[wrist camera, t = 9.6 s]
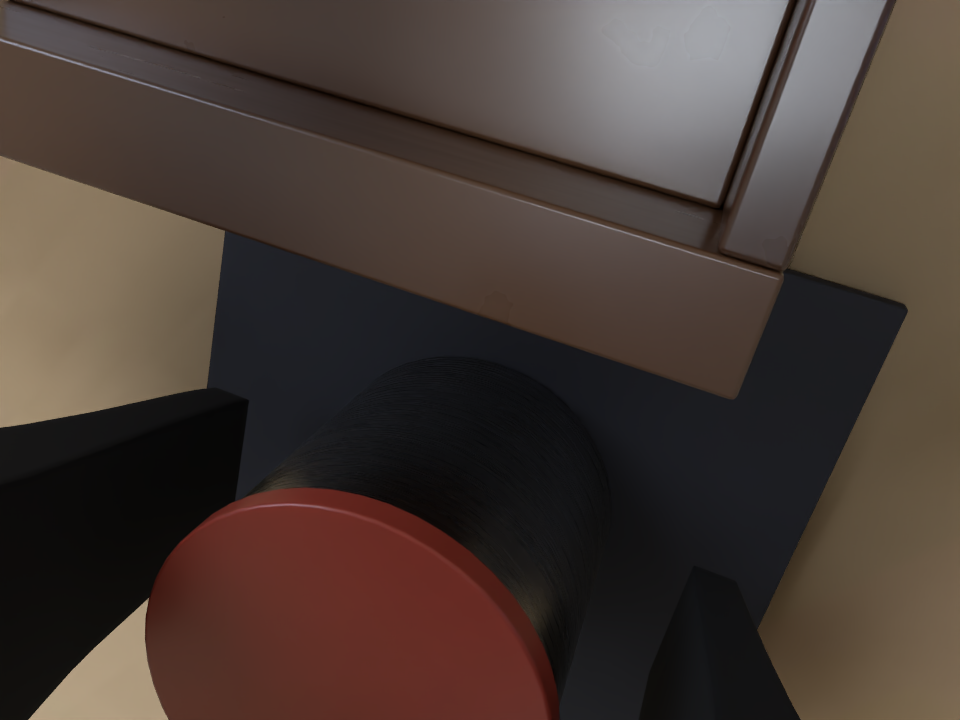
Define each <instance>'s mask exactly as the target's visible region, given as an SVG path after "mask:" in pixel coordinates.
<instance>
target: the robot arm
mask: <svg viewBox="0 0 960 720" xmlns="http://www.w3.org/2000/svg"><path fill="white" fill-rule="evenodd" d="M248 405H249V400H248V399H246V398H243V397H240V396H238V395H235V394H232V393H230V392H227V391H224V390H222V389H219V388H216V387H214V388H206V389H199V390H193V391H188V392H183V393H178V394H173V395H168V396H164V397H159V398H155V399H150V400H146V401H141V402H136V403H132V404H127V405H123V406H118V407H114V408H109V409H104V410H100V411H95V412H90V413H85V414H79V415H74V416H68V417H63V418H57V419H52V420H46V421H41V422H36V423H30V424H24V425H17V426H11V427H3V428H0V720H28V719H29V718H30V717H31V716H32V715H33V714H34V712H35V711H36V710H37V709H38V708H39V707H40V706H41V705H42V703H43V702H44V701H45V700H46V699H47V698H48V697H49V695H50V694H51V693H52V692H53V691H54V690H55V689H56V688H57V686H58V685H59V684H60V683H61V682H62V681H63V680H64V679H65V677H66V676H67V675H68V674H69V673H70V672H71V671H72V670H73V669H74V668H75V667H76V666H77V665H78V664H79V663H80V662H81V661H82V660H83V659H84V658H85V657H86V656H87V655H88V654H89V653H90V652H91V651H92V650H93V649H94V648H95V647H96V646H97V645H98V644H99V643H100V642H101V641H102V640H103V639H104V638H105V637H107V636H108V635H109V634H110V633H111V632H112V631H113V630H114V629H115V628H116V627H117V626H119V625H120V624H121V623H122V622H123V621H124V620H125V619H126V618H127V617H128V616H129V615H131V614H132V613H133V612H134V611H135V610H136V609H137V608H138V607H139V606H140V605H141V604H143V603H144V602H145V601H146V600H147V599H148V598H149V597H150V594H151V591H152V588H153V585H154V582H155V580H156V577H157V575H158V573H159V571H160V569H161V567H162V566H163V564H164V562H165V560H166V559H167V557H168V556H169V555H170V553H171V552H172V551H173V550H174V549H175V547H176V546H177V545H178V544H179V543H180V541H181V540H183V539H184V538H185V537H186V536H187V535H188V534H189V533H191V532H192V531H193V530H194V529H195V528H196V527H197V526H199V525H200V524H201V523H202V522H203V521H205V520H206V519H207V518H208V517H209V516H211V515H212V514H213V513H215V512H217V511H218V510H220V509H222V508H223V507H225V506H227V505H229V504H230V503H232V502H235V498H236V491H237V484H238V477H239V470H240V463H241V455H242V448H243V441H244V434H245V427H246V420H247V413H248ZM639 720H801V719H800V718H799V716H798V714H797V712H796V711H795V709H794V707H793V705H792V703H791V701H790V699H789V697H788V695H787V693H786V691H785V689H784V687H783V685H782V683H781V681H780V679H779V677H778V675H777V673H776V671H775V669H774V667H773V665H772V662H771V660H770V658H769V656H768V654H767V652H766V649H765V647H764V645H763V643H762V640H761V638H760V636H759V633H758V631H757V629H756V626H755V624H754V622H753V619H752V617H751V615H750V612H749V610H748V607H747V605H746V603H745V600H744V598H743V595H742V593H741V591H740V589H739V587H738V584H737V582H736V581H735V580H732V579H729V578H727V577H724V576H721V575H719V574H716V573H713V572H711V571H708V570H705V569H702V568H700V567H697V566H693V568H692V571H691V573H690V576H689V578H688V580H687V583H686V585H685V588H684V590H683V592H682V595H681V597H680V600H679V602H678V604H677V607H676V609H675V611H674V614H673V616H672V619H671V621H670V623H669V626H668V628H667V631H666V633H665V635H664V638H663V640H662V643H661V645H660V647H659V650H658V652H657V655H656V657H655V659H654V662H653V664H652V666H651V669H650V671H649V675H648V680H647V684H646V689H645V693H644V698H643V702H642V706H641V711H640V716H639Z"/></svg>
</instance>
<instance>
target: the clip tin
mask: <svg viewBox="0 0 960 720" xmlns="http://www.w3.org/2000/svg"><path fill="white" fill-rule="evenodd" d="M610 521H611V492H610V487H609V481H608V476H607V473H606V470H605V467H604V464H603V461H602V458H601V456H600V454H599V452H598V450H597V448H596V446H595V443H594V441H593V440H592V438H591V437H590V435H589V434H588V432H587V431H586V429H585V427H584V426H583V424H582V423H581V422H580V421H579V420H578V418H577V417H576V416H575V415H574V414H573V412H572V411H571V410H570V409H569V408H568V407H567V406H566V405H565V404H564V403H563V402H562V401H561V400H560V399H558V398H557V397H556V396H555V395H554V394H553V393H551V392H550V391H549V390H547V389H546V388H545V387H543V386H542V385H540V384H539V383H538V382H536V381H534V380H532V379H531V378H529V377H527V376H525V375H523V374H522V373H520V372H517V371H515V370H513V369H510V368H508V367H505V366H503V365H500V364H496V363H493V362H489V361H486V360H482V359H476V358H469V357H462V356H440V357H431V358H424V359H420V360H416V361H412V362H408V363H405V364H403V365H401V366H398V367H396V368H394V369H391V370H389V371H388V372H386V373H385V374H383V375H381V376H380V377H378V378H376V379H375V380H374V381H373V382H372V383H370V384H369V385H368V386H367V387H366V388H364V389H363V390H362V391H361V392H360V393H359V394H358V395H357V396H356V397H354V398H353V399H352V400H351V401H350V402H349V403H348V404H347V405H345V406H344V407H343V408H342V409H341V410H340V411H339V412H338V413H337V414H335V415H334V416H333V417H332V418H331V419H330V420H329V421H328V422H327V423H325V424H324V425H323V426H322V427H321V428H320V429H319V430H318V431H316V432H315V433H314V434H313V435H312V436H311V437H310V438H309V439H308V440H306V441H305V442H304V443H303V444H302V445H301V446H300V447H299V448H298V449H296V450H295V451H294V452H293V453H292V454H291V455H290V456H289V457H287V458H286V459H285V460H284V461H283V462H282V463H281V464H280V465H279V466H277V467H276V468H275V469H274V470H273V471H272V472H271V473H270V474H268V475H267V476H266V477H265V478H264V479H263V480H262V481H261V482H260V483H258V484H257V485H256V486H255V487H254V488H253V489H252V490H251V491H250V492H248V493H247V494H246V495H245V496H244V497H243V498H242V499H240V500H238V501H235V502H232V503H230V504H229V505H227V506H225V507H223V508H222V509H220V510H218V511H217V512H215V513H213V514H212V515H211V516H209V517H208V518H207V519H206V520H205V521H203V522H202V523H201V524H200V525H199V526H197V527H196V528H195V529H194V530H193V531H192V532H191V533H189V534H188V535H187V536H186V537H185V538H184V539H183V540H181V541H180V543H179V544H178V545H177V546H176V547H175V549H174V550H173V551H172V552H171V553H170V555H169V556H168V557H167V559H166V560H165V562H164V564H163V566H162V567H161V569H160V571H159V573H158V575H157V577H156V580H155V582H154V585H153V588H152V591H151V594H150V597H149V602H148V607H147V613H146V622H145V643H146V651H147V660H148V665H149V669H150V673H151V677H152V681H153V684H154V687H155V690H156V692H157V695H158V698H159V700H160V703H161V706H162V708H163V710H164V712H165V714H166V715H167V717H168V719H169V720H560V714H559V706H560V703H561V699H562V696H563V692H564V689H565V685H566V682H567V678H568V674H569V671H570V667H571V664H572V660H573V657H574V653H575V650H576V646H577V643H578V639H579V636H580V632H581V629H582V625H583V622H584V618H585V615H586V611H587V608H588V604H589V601H590V597H591V593H592V590H593V586H594V583H595V579H596V576H597V572H598V569H599V565H600V562H601V558H602V555H603V551H604V548H605V544H606V541H607V537H608V533H609V530H610Z"/></svg>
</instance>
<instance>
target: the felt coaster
mask: <svg viewBox="0 0 960 720" xmlns="http://www.w3.org/2000/svg"><path fill="white" fill-rule="evenodd" d="M783 274H784V281H783V284H782V286H781V289H780V291H779V294H778V296H777V299H776V301H775V304H774V306H773V309H772V311H771V314H770V316H769V319H768V321H767V324H766V326H765V329H764V331H763V334H762V336H761V338H760V341H759V343H758V346H757V348H756V351H755V353H754V356H753V358H752V361H751V363H750V366H749V368H748V371H747V373H746V376H745V378H744V381H743V383H742V386H741V388H740V391H739V393H738V395H737V397H736V398H735V399H727V398H724V397H721V396H718V395H715V394H712V393H709V392H706V391H703V390H700V389H697V388H694V387H691V386H688V385H685V384H682V383H679V382H676V381H673V380H670V379H667V378H664V377H661V376H658V375H655V374H652V373H649V372H646V371H643V370H640V369H637V368H634V367H631V366H628V365H625V364H622V363H619V362H616V361H613V360H610V359H607V358H604V357H601V356H598V355H595V354H592V353H589V352H586V351H583V350H580V349H577V348H574V347H571V346H568V345H565V344H562V343H559V342H556V341H553V340H550V339H547V338H544V337H541V336H538V335H535V334H532V333H529V332H526V331H523V330H520V329H517V328H514V327H511V326H508V325H505V324H502V323H499V322H496V321H493V320H490V319H487V318H484V317H482V316H479V315H476V314H473V313H470V312H467V311H464V310H461V309H458V308H455V307H452V306H449V305H446V304H443V303H440V302H437V301H434V300H431V299H428V298H425V297H422V296H419V295H416V294H413V293H410V292H407V291H404V290H401V289H398V288H395V287H392V286H389V285H386V284H383V283H380V282H377V281H374V280H371V279H368V278H365V277H362V276H359V275H356V274H353V273H350V272H347V271H344V270H341V269H338V268H335V267H332V266H329V265H326V264H323V263H320V262H317V261H314V260H311V259H308V258H305V257H302V256H299V255H296V254H293V253H290V252H287V251H284V250H281V249H278V248H275V247H272V246H269V245H266V244H263V243H260V242H257V241H254V240H251V239H248V238H245V237H242V236H239V235H236V234H233V233H230V232H227V231H225V238H224V247H223V255H222V264H221V272H220V281H219V290H218V298H217V307H216V315H215V324H214V333H213V341H212V350H211V358H210V367H209V375H208V384H207V388H214V387H216V388H219V389H222V390H224V391H227V392H230V393H232V394H235V395H238V396H240V397H243V398H246V399H248V400H249V405H248V413H247V420H246V427H245V434H244V441H243V448H242V455H241V463H240V470H239V477H238V484H237V491H236V498H235V501H238V500H240V499H242V498H243V497H244V496H245V495H246V494H247V493H248V492H250V491H251V490H252V489H253V488H254V487H255V486H256V485H257V484H258V483H260V482H261V481H262V480H263V479H264V478H265V477H266V476H267V475H268V474H270V473H271V472H272V471H273V470H274V469H275V468H276V467H277V466H279V465H280V464H281V463H282V462H283V461H284V460H285V459H286V458H287V457H289V456H290V455H291V454H292V453H293V452H294V451H295V450H296V449H298V448H299V447H300V446H301V445H302V444H303V443H304V442H305V441H306V440H308V439H309V438H310V437H311V436H312V435H313V434H314V433H315V432H316V431H318V430H319V429H320V428H321V427H322V426H323V425H324V424H325V423H327V422H328V421H329V420H330V419H331V418H332V417H333V416H334V415H335V414H337V413H338V412H339V411H340V410H341V409H342V408H343V407H344V406H345V405H347V404H348V403H349V402H350V401H351V400H352V399H353V398H354V397H356V396H357V395H358V394H359V393H360V392H361V391H362V390H363V389H364V388H366V387H367V386H368V385H369V384H370V383H372V382H373V381H374V380H375V379H376V378H378V377H380V376H381V375H383V374H385V373H386V372H388V371H389V370H391V369H394V368H396V367H398V366H401V365H403V364H405V363H408V362H412V361H416V360H420V359H424V358H431V357H440V356H462V357H469V358H476V359H482V360H486V361H489V362H493V363H496V364H500V365H503V366H505V367H508V368H510V369H513V370H515V371H517V372H520V373H522V374H523V375H525V376H527V377H529V378H531V379H532V380H534V381H536V382H538V383H539V384H540V385H542V386H543V387H545V388H546V389H547V390H549V391H550V392H551V393H553V394H554V395H555V396H556V397H557V398H558V399H560V400H561V401H562V402H563V403H564V404H565V405H566V406H567V407H568V408H569V409H570V410H571V411H572V412H573V414H574V415H575V416H576V417H577V418H578V420H579V421H580V422H581V423H582V424H583V426H584V427H585V429H586V431H587V432H588V434H589V435H590V437H591V438H592V440H593V441H594V443H595V446H596V448H597V450H598V452H599V454H600V456H601V458H602V461H603V464H604V467H605V470H606V473H607V476H608V481H609V487H610V492H611V521H610V530H609V533H608V537H607V541H606V544H605V548H604V551H603V555H602V558H601V562H600V565H599V569H598V572H597V576H596V579H595V583H594V586H593V590H592V593H591V597H590V601H589V604H588V608H587V611H586V615H585V618H584V622H583V625H582V629H581V632H580V636H579V639H578V643H577V646H576V650H575V653H574V657H573V660H572V664H571V667H570V671H569V674H568V678H567V682H566V685H565V689H564V692H563V696H562V699H561V703H560V706H559V714H560V720H639V716H640V711H641V706H642V702H643V698H644V693H645V689H646V684H647V680H648V675H649V671H650V669H651V666H652V664H653V662H654V659H655V657H656V655H657V652H658V650H659V647H660V645H661V643H662V640H663V638H664V635H665V633H666V631H667V628H668V626H669V623H670V621H671V619H672V616H673V614H674V611H675V609H676V607H677V604H678V602H679V600H680V597H681V595H682V592H683V590H684V588H685V585H686V583H687V580H688V578H689V576H690V573H691V571H692V568H693V566H697V567H700V568H702V569H705V570H708V571H711V572H713V573H716V574H719V575H721V576H724V577H727V578H729V579H732V580H735V581H736V582H737V584H738V587H739V589H740V591H741V593H742V595H743V598H744V600H745V603H746V605H747V607H748V610H749V612H750V615H751V617H752V619H753V622H754V624H755V626H756V629H758V627H759V625H760V623H761V620H762V618H763V616H764V614H765V612H766V610H767V608H768V606H769V604H770V601H771V599H772V597H773V595H774V593H775V591H776V589H777V587H778V585H779V583H780V580H781V578H782V576H783V574H784V572H785V570H786V568H787V566H788V564H789V561H790V559H791V557H792V555H793V553H794V551H795V549H796V547H797V545H798V542H799V540H800V538H801V536H802V534H803V532H804V530H805V528H806V526H807V523H808V521H809V519H810V517H811V515H812V513H813V511H814V509H815V507H816V504H817V502H818V500H819V498H820V496H821V494H822V492H823V490H824V488H825V485H826V483H827V481H828V479H829V477H830V475H831V473H832V471H833V469H834V466H835V464H836V462H837V460H838V458H839V456H840V454H841V452H842V450H843V448H844V445H845V443H846V441H847V439H848V437H849V435H850V433H851V431H852V429H853V426H854V424H855V422H856V420H857V418H858V416H859V414H860V412H861V410H862V407H863V405H864V403H865V401H866V399H867V397H868V395H869V393H870V391H871V388H872V386H873V384H874V382H875V380H876V378H877V376H878V374H879V372H880V369H881V367H882V365H883V363H884V361H885V359H886V357H887V355H888V353H889V350H890V348H891V346H892V344H893V342H894V340H895V338H896V336H897V334H898V331H899V329H900V327H901V325H902V323H903V321H904V319H905V317H906V315H907V313H908V309H907V308H906V306H905V305H904V304H902V303H899V302H896V301H892V300H889V299H886V298H882V297H879V296H876V295H872V294H869V293H866V292H863V291H859V290H856V289H853V288H849V287H846V286H843V285H840V284H836V283H833V282H830V281H826V280H823V279H820V278H816V277H813V276H810V275H807V274H803V273H800V272H797V271H793V270H790V269H786V270H785V271H783Z"/></svg>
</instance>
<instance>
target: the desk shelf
mask: <svg viewBox="0 0 960 720" xmlns="http://www.w3.org/2000/svg"><path fill="white" fill-rule="evenodd" d="M895 3H896V0H0V156H3V157H6V158H9V159H12V160H15V161H18V162H21V163H24V164H27V165H30V166H33V167H36V168H39V169H42V170H45V171H48V172H51V173H54V174H56V175H59V176H62V177H65V178H68V179H71V180H74V181H77V182H80V183H83V184H86V185H89V186H92V187H95V188H98V189H101V190H104V191H107V192H110V193H113V194H116V195H119V196H122V197H125V198H128V199H131V200H134V201H137V202H140V203H143V204H146V205H149V206H152V207H155V208H158V209H161V210H164V211H167V212H170V213H173V214H176V215H179V216H182V217H185V218H188V219H191V220H194V221H197V222H200V223H203V224H206V225H209V226H212V227H215V228H218V229H221V230H224V231H227V232H230V233H233V234H236V235H239V236H242V237H245V238H248V239H251V240H254V241H257V242H260V243H263V244H266V245H269V246H272V247H275V248H278V249H281V250H284V251H287V252H290V253H293V254H296V255H299V256H302V257H305V258H308V259H311V260H314V261H317V262H320V263H323V264H326V265H329V266H332V267H335V268H338V269H341V270H344V271H347V272H350V273H353V274H356V275H359V276H362V277H365V278H368V279H371V280H374V281H377V282H380V283H383V284H386V285H389V286H392V287H395V288H398V289H401V290H404V291H407V292H410V293H413V294H416V295H419V296H422V297H425V298H428V299H431V300H434V301H437V302H440V303H443V304H446V305H449V306H452V307H455V308H458V309H461V310H464V311H467V312H470V313H473V314H476V315H479V316H482V317H484V318H487V319H490V320H493V321H496V322H499V323H502V324H505V325H508V326H511V327H514V328H517V329H520V330H523V331H526V332H529V333H532V334H535V335H538V336H541V337H544V338H547V339H550V340H553V341H556V342H559V343H562V344H565V345H568V346H571V347H574V348H577V349H580V350H583V351H586V352H589V353H592V354H595V355H598V356H601V357H604V358H607V359H610V360H613V361H616V362H619V363H622V364H625V365H628V366H631V367H634V368H637V369H640V370H643V371H646V372H649V373H652V374H655V375H658V376H661V377H664V378H667V379H670V380H673V381H676V382H679V383H682V384H685V385H688V386H691V387H694V388H697V389H700V390H703V391H706V392H709V393H712V394H715V395H718V396H721V397H724V398H727V399H735V398H736V397H737V395H738V393H739V391H740V388H741V386H742V383H743V381H744V378H745V376H746V373H747V371H748V368H749V366H750V363H751V361H752V358H753V356H754V353H755V351H756V348H757V346H758V343H759V341H760V338H761V336H762V334H763V331H764V329H765V326H766V324H767V321H768V319H769V316H770V314H771V311H772V309H773V306H774V304H775V301H776V299H777V296H778V294H779V291H780V289H781V286H782V284H783V281H784V274H783V271H785V270H786V269H787V268H788V267H789V266H790V263H791V261H792V258H793V256H794V253H795V251H796V248H797V246H798V243H799V241H800V238H801V236H802V233H803V231H804V229H805V226H806V224H807V221H808V219H809V216H810V214H811V211H812V209H813V206H814V204H815V201H816V199H817V196H818V194H819V191H820V189H821V186H822V184H823V181H824V179H825V176H826V174H827V171H828V169H829V167H830V164H831V162H832V159H833V157H834V154H835V152H836V149H837V147H838V144H839V142H840V139H841V137H842V134H843V132H844V129H845V127H846V124H847V122H848V119H849V117H850V114H851V112H852V110H853V107H854V105H855V102H856V100H857V97H858V95H859V92H860V90H861V87H862V85H863V82H864V80H865V77H866V75H867V72H868V70H869V67H870V65H871V62H872V60H873V57H874V55H875V52H876V50H877V48H878V45H879V43H880V40H881V38H882V35H883V33H884V30H885V28H886V25H887V23H888V20H889V18H890V15H891V13H892V10H893V8H894V5H895Z"/></svg>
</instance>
